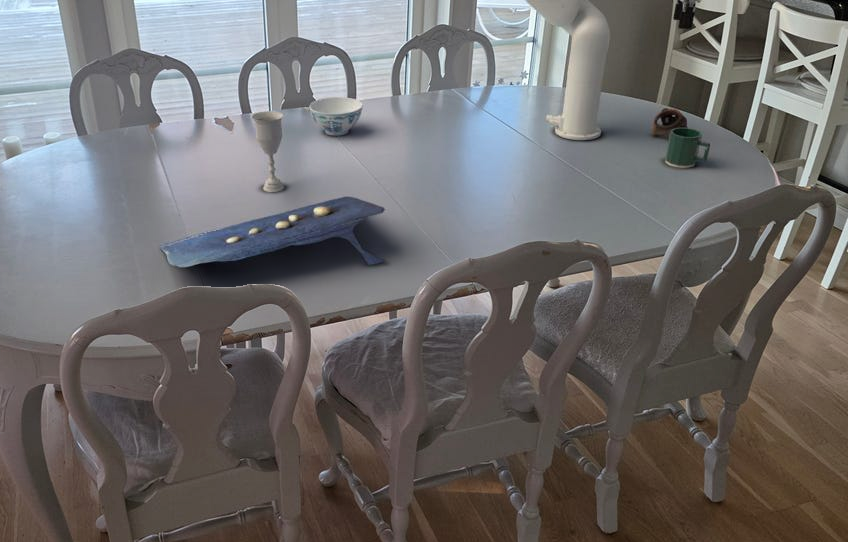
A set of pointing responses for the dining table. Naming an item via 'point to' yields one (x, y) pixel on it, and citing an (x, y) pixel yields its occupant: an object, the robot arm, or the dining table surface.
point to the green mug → (685, 148)
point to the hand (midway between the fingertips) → (682, 24)
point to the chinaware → (336, 114)
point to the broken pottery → (668, 121)
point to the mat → (276, 233)
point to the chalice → (269, 143)
